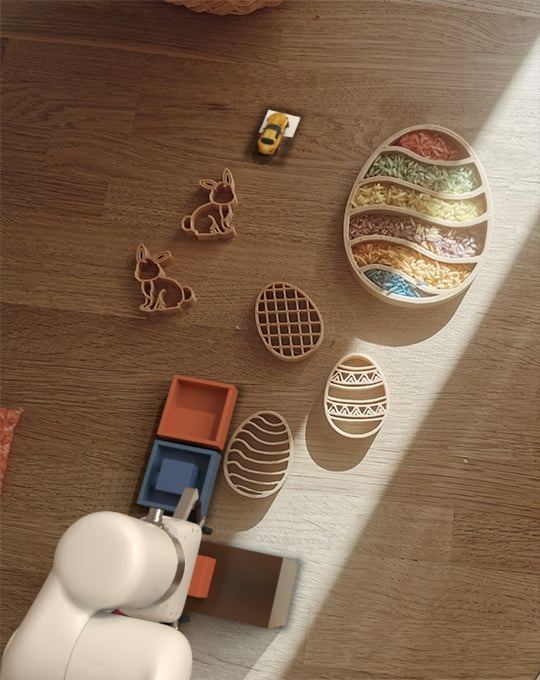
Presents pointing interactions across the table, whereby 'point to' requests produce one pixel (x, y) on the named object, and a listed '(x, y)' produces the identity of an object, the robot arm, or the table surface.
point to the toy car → (276, 131)
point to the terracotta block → (201, 576)
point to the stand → (246, 586)
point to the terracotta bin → (198, 412)
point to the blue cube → (176, 477)
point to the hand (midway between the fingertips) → (189, 572)
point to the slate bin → (196, 456)
